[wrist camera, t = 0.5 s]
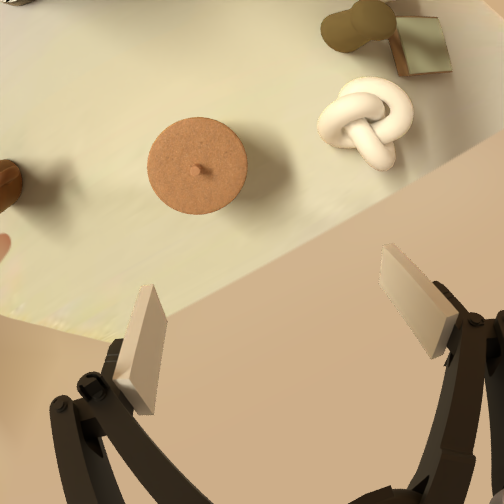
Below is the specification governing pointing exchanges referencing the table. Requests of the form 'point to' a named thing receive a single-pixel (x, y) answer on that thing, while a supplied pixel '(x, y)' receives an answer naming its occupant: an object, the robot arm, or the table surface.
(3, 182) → the mug
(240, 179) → the lidded jar
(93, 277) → the table surface
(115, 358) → the robot arm
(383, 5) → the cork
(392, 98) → the white decorative knot
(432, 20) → the stand
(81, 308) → the table surface
